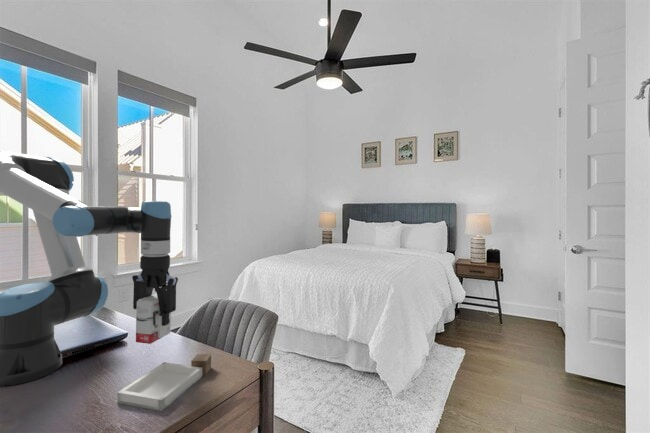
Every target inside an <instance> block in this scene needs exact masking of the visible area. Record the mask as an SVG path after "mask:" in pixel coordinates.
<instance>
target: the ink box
mask: <svg viewBox="0 0 650 433" xmlns="http://www.w3.org/2000/svg"><path fill="white" fill-rule="evenodd" d="M135 312H136V313H135V314H136V315H135V316H136V317H135V343H139V344H148V345H151V344H153V343H155V342H156V341H158V340H160V339H162V338H164V337H165V336H167V335H170V334H171V325H172V324H171V322H172V321H171V320H172V319H171V318H172V315H171V314H172V312H171V313H169V324H168V325H167V335H165V336H163V337H161V338H158V315H159V314H160V313H161V312H160V307H159V300H158V297H157V293H154V294H152V295H151V296H148V297H145V298H142V299H139V300H138V301H137V309H136V311H135Z"/></svg>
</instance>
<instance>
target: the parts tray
mask: <svg viewBox="0 0 650 433" xmlns="http://www.w3.org/2000/svg"><path fill="white" fill-rule="evenodd" d="M202 377H203V375H202V367H195V366H191V365H187V364H179V363H173V362H172V363H171V362H162V363H161V364H159V365H158V366H155V367H154V368H153V369H151V370H150V371H149V372H146V373H145V374H143V375H142V376H140V377H139V378H137V379H135V381H133V382H131V383H130V384H128V385H127V386H125V387H123V388H122V389H121V390H119V391H118V392H117V393H116V396H117V398H116V400H117V404H121V405H125V406H126V405H127V406H132V407H137V408H143V409H148V410H154V411H159V412H162V411H164V410H165V409H167V407H169V406H170V405H171V404H172V403H173V402H175V401H176V399H178V398H179V397H180V396H182V395H183V394H184V393H185V392H186V391H187V390H189V389H190V388H191V387H192V386H194V385H195V384H196V383H197V382H198V381H200V379H201V378H202Z"/></svg>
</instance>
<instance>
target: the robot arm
mask: <svg viewBox="0 0 650 433" xmlns="http://www.w3.org/2000/svg"><path fill="white" fill-rule="evenodd" d="M74 181H75V177H74V174H73V171H72V169H71V167H69V165H68V164H67V163H66V162H65V161H62V160H60V159H58V158H52V157H49V156H37V155H32V154H31V155H30V154H26V153H18V152H13V151H0V195H2V196H7V197H8V198H10V199H11V200H14V201H15V202H17V203H19V204H21V205H22V206H25V207H26V208H29V209H31V210H32V213H33V216H34V218H35V223H36V225H37V226H36V227H37V230H38V233H39V236H40V240H41V243H42V246H43V250H44V253H45V256H46V260H47V264H48V267H49V271H50V274H51V275H50V278H49V279H48V280H47V281H38V282H37V281H36V282H33V283H25V284H21V285H17V286H13V287H11V288H8V289H6V290H4V291H1V293H0V387H8V385H9V386H16V385H19V384H23V383H29V382H32V381H35V380H38V379H41V378H43V377H46V376H47V375H49V374H52V373H53V372H56V370H58V369H59V368H61V367H62V365H63V354H62V352H61V350H60V348H59V345H58V344H57V341H56V339H55V326H58V325H60V324H64V323H67V322H70V321H74V320H76V319H80V318H84V317H87V316H90V315H91V314H94V313H96V312H98V311H100V310H101V309H102V308H103V307H104V306H105V304H106V301H108V296H109V288H108V283H107V281H105V279H103V277H101V276H98V275H95V274H94V270H93V269H92V268H90V267H88V266H86V263H85V260H84V257H83V253H82V251H81V250H82V249H81V248H80V244H79V240H78V237H85V236H95V235H96V236H97V235H109V234H122V233H123V234H124V233H126V234H127V233H133V234H136V233H137V234H140V254H141V256H140V258H139V259H140V260H139V265H140V266H139V267H140V269H141V272H140V273H139V274H135V275H132V277H131V278H132V282H133V295H132V296H133V300H132V302H133V303H132V304H133V305H132V307H133V310H137V301H138V300H139V299H142V298H145V297H148V296H151V295H153V291H155V292H156V294H157V297H158V300H159V307H160V312H161V313H160V314H159V315H158V338H160V339H162V338H164V337H165V335H166V336H167V325H168V324H169V313H171V314H172V313H173V312H175V311H176V310H177V284H178V281H179V278H178V277H177V276H175V277H173V276H171V275H170V272H169V269H170V267H171V255H170V253H171V229H172V228H171V227H172V226H171V224H172V207H171V206H172V205H171V203H170V202H169V201H161V200H160V201H157V200H143V201H141V206H140V207H137V206H124V205H117V206H102V205H101V206H99V205H98V206H97V205H95V206H94V205H89V204H87V203H85V202H83V201H81V200H79V199H77V198H76V197H73V196H71V195H70V191H71V190H72V188H73V186H74V183H73V182H74ZM163 336H164V337H163ZM161 337H162V338H161ZM5 385H7V386H5Z"/></svg>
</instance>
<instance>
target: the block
mask: <svg viewBox="0 0 650 433" xmlns="http://www.w3.org/2000/svg"><path fill="white" fill-rule="evenodd" d="M190 364H191V365H190V366H195V367H202V376H207V375H208V373H209V372H210V370H211V369H212V354H210V353H208V354H205V353H204V354H203V353H197V354H196V355H195V356H194V357H193V358H192V360H191V363H190Z"/></svg>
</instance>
